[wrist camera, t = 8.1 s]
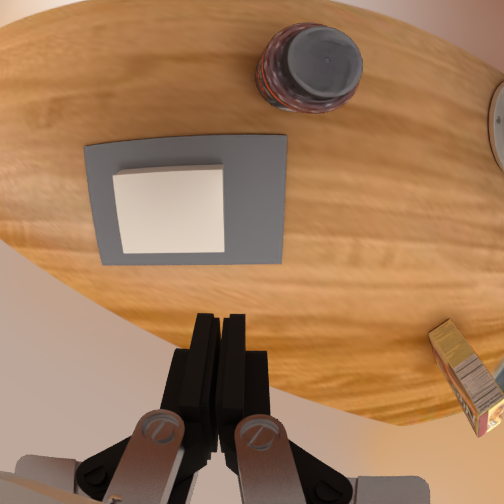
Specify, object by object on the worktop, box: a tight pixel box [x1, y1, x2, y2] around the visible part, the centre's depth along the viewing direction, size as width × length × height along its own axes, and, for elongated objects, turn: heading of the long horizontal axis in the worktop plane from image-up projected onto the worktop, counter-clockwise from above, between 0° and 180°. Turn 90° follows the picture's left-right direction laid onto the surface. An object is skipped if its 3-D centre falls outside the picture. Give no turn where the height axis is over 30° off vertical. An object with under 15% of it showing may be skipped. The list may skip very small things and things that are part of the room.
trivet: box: [84, 134, 287, 265], centre depth 27 cm, size 18×12×1 cm, turn 89°
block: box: [113, 164, 225, 253], centre depth 26 cm, size 2×7×9 cm
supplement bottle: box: [255, 22, 363, 114], centre depth 18 cm, size 6×6×11 cm
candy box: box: [429, 319, 504, 438], centre depth 31 cm, size 9×4×15 cm, turn 34°
